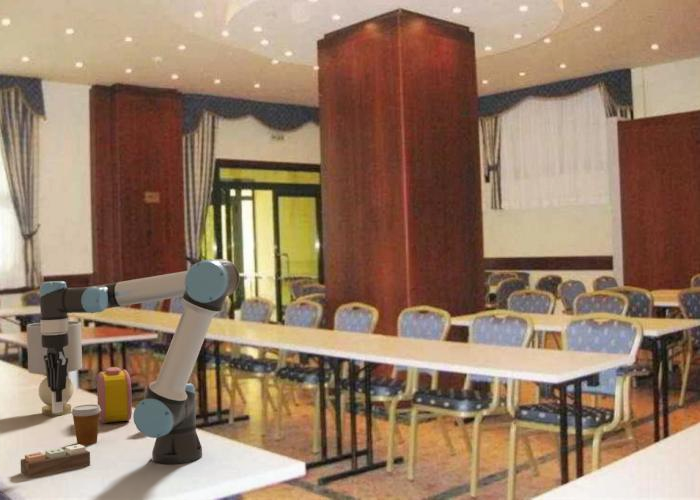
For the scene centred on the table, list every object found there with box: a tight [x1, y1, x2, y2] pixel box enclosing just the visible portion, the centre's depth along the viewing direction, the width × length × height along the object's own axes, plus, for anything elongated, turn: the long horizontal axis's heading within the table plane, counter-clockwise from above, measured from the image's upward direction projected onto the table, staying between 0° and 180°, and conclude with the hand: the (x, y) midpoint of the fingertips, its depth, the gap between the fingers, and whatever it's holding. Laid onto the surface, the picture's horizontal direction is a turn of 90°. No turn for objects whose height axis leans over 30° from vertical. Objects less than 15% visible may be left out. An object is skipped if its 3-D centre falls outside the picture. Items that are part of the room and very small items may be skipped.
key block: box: [20, 449, 91, 479], centre depth 234 cm, size 7×18×4 cm, turn 131°
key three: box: [24, 451, 46, 463], centre depth 231 cm, size 4×4×5 cm
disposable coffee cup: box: [71, 403, 101, 446], centre depth 264 cm, size 10×10×12 cm
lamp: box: [26, 320, 83, 417], centre depth 311 cm, size 20×20×35 cm
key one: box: [64, 444, 87, 455], centre depth 238 cm, size 4×4×5 cm
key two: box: [44, 447, 66, 459], centre depth 234 cm, size 4×4×5 cm
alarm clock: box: [96, 366, 133, 424], centre depth 297 cm, size 18×11×19 cm, turn 22°
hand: (57, 412), depth 235 cm, fingers closed
